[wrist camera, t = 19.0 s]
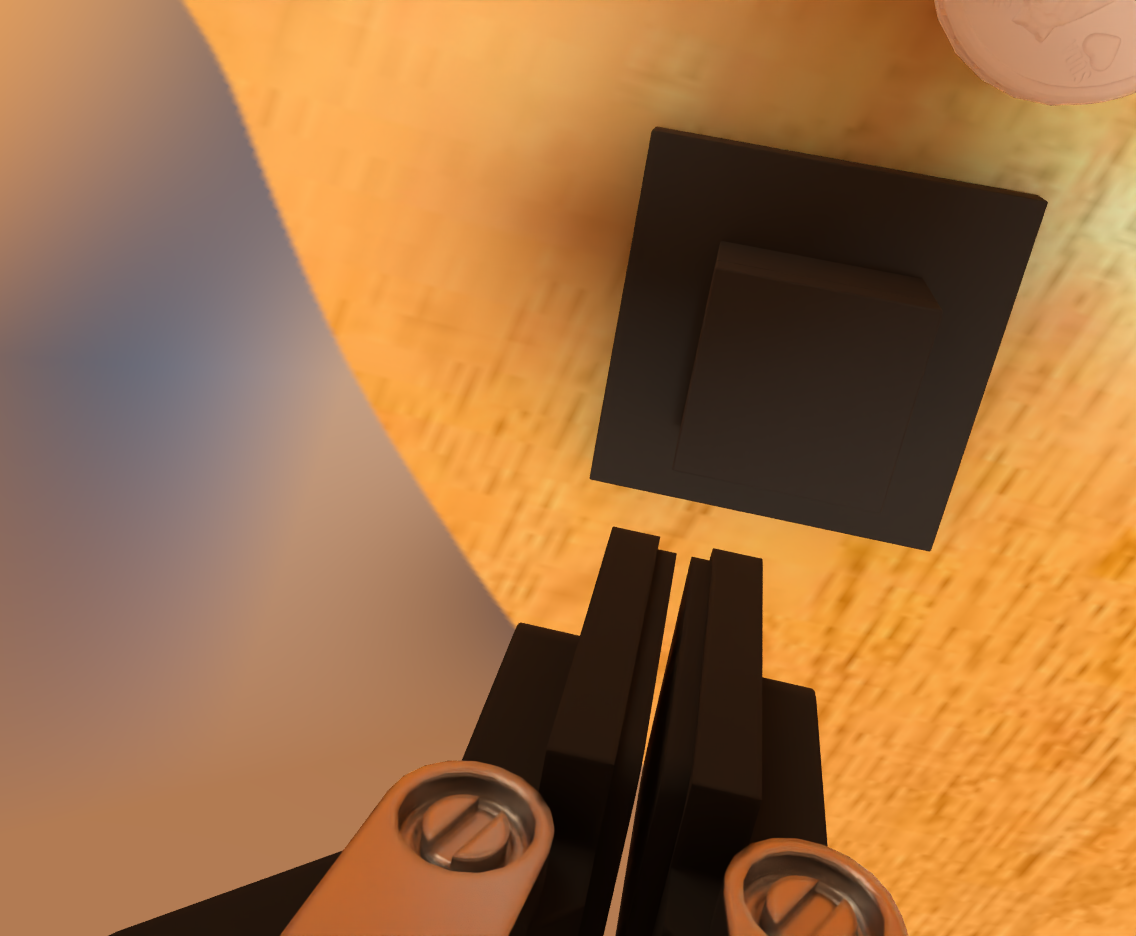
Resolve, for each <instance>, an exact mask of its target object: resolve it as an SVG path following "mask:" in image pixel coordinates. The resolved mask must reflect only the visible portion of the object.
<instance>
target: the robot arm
mask: <svg viewBox="0 0 1136 936" xmlns="http://www.w3.org/2000/svg"><path fill="white" fill-rule="evenodd" d="M659 540H660V537H659V536H654V535H650V534H645V533H640V532H636V531H631V530H627V529H622V528H617V527H613V528H612V531H611V534H610V537H609V541H608V544H607V547H606V551H605V554H604V558H603V561H602V564H601V568H600V571H599V574H598V578H597V581H596V584H595V588H594V591H593V594H592V598H591V601H590V604H589V608H588V611H587V614H586V618H585V621H584V624H583V628H582V631H581V635H580V636H578V635H574V634H569V633H565V632H560V631H556V630H552V629H547V628H543V627H538V626H534V625H529V624H525V623H519V624H518V625H517V627H516V629H515V632H514V634H513V636H512V639H511V641H510V644H509V646H508V649H507V651H506V654H505V656H504V658H503V662H502V663H501V666H500V668H499V671H498V673H497V676H496V678H495V681H494V683H493V685H492V688H491V690H490V693H489V695H488V698H487V700H486V703H485V705H484V707H483V710H482V713H481V715H480V717H479V720H478V722H477V725H476V727H475V729H474V732H473V735H472V737H471V739H470V742H469V744H468V747H467V749H466V751H465V754H464V757H463V759H462V761H445V762H440V763H435V764H430V765H425V766H423V767H421V768H419V769H417V770H415V771H413V772H411V773H408V774H407V775H404V776H403V777H402V778H401V779H400V780H399V781H398V782H397V783H395V785H393V786H392V787H391V788H390V789H389V790H388V791H387V793H386V794H385V795H384V797H383V798H382V799H381V801H380V802H379V803H378V805H377V806H376V807H375V809H374V810H373V811H372V813H371V814H370V815H369V817H368V818H367V819H366V821H365V822H364V823H363V825H362V826H361V827H360V829H359V830H358V831H357V833H356V834H355V835H354V837H353V838H352V839H351V841H350V842H349V844H348V845H347V846H346V847H345V849H344V850H343V851H340V852H338V853H335V854H332V855H329V856H326V857H324V858H321V859H318V860H315V861H313V862H310V863H307V864H304V865H301V866H299V867H296V868H294V869H291V870H288V871H285V872H282V873H279V874H277V875H273V876H271V877H268V878H265V879H262V880H260V881H257V882H254V883H251V884H248V885H246V886H243V887H240V888H237V889H235V890H232V891H229V892H226V893H223V894H220V895H218V896H215V897H212V898H210V899H207V900H204V901H201V902H198V903H196V904H193V905H190V906H187V907H184V908H182V909H179V910H176V911H173V912H170V913H167V914H165V915H162V916H159V917H156V918H154V919H151V920H148V921H145V922H143V923H140V924H137V925H134V926H131V927H128V928H126V929H123V930H120V931H118V932H115V933H113V934H111V935H109V936H603V935H604V931H605V926H606V922H607V917H608V913H609V908H610V905H611V900H612V896H613V892H614V887H615V882H616V878H617V874H618V870H619V865H620V861H621V857H622V852H623V848H624V844H625V839H626V835H627V831H628V826H629V822H630V818H631V813H632V809H633V805H634V800H635V796H636V790H637V785H638V781H639V776H640V771H641V766H642V761H643V755H644V750H645V744H646V738H647V731H648V725H649V719H650V713H651V707H652V701H653V695H654V689H655V683H656V676H657V670H658V664H659V658H660V652H661V646H662V640H663V634H664V628H665V622H666V615H667V609H668V603H669V597H670V591H671V585H672V579H673V573H674V567H675V560H676V554H677V553H672V552H668V551H663V550H659V549H658V545H659ZM762 598H763V562H762V559H760V558H756V557H751V556H747V555H742V554H737V553H733V552H728V551H724V550H719V549H714V548H713V550H712V553H711V557H710V561H709V560H705V559H700V558H695V557H692V558H691V561H690V565H689V569H688V574H687V578H686V582H685V587H684V591H683V595H682V600H681V604H680V608H679V613H678V617H677V621H676V626H675V630H674V634H673V639H672V643H671V647H670V652H669V656H668V660H667V665H666V669H665V673H664V678H663V682H662V686H661V691H660V695H659V699H658V704H657V708H656V712H655V717H654V721H653V725H652V730H651V734H650V738H649V743H648V747H647V752H646V756H645V761H644V766H643V771H642V777H641V782H640V788H639V794H638V801H637V806H636V813H635V819H634V825H633V832H632V838H631V843H630V850H629V856H628V862H627V868H626V875H625V880H624V887H623V893H622V899H621V906H620V912H619V917H618V924H617V930H616V936H908V933H907V930H906V927H905V924H904V921H903V918H902V915H901V914H900V912H899V910H898V908H897V906H896V904H895V902H894V900H893V898H892V896H891V894H890V893H889V892H888V891H887V890H886V889H885V887H884V886H883V885H882V884H881V883H880V882H879V881H878V880H877V878H876V877H875V876H874V875H873V874H872V873H871V872H869V871H868V870H866V869H865V868H864V867H862V866H861V865H860V864H858V863H857V862H856V861H854V860H853V859H851V858H850V857H848V856H846V855H844V854H842V853H840V852H838V851H836V850H833V849H831V848H829V847H828V846H827V833H826V820H825V807H824V794H823V781H822V768H821V755H820V742H819V729H818V716H817V703H816V696H815V691H814V690H813V689H811V688H807V687H803V686H798V685H794V684H789V683H785V682H781V681H776V680H772V679H767V678H763V677H762Z"/></svg>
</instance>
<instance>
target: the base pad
mask: <svg viewBox="0 0 1136 936" xmlns="http://www.w3.org/2000/svg"><path fill="white" fill-rule="evenodd" d="M1047 204H1048V201H1046V200H1044V199H1043V198H1041V197H1040V196H1038V195H1034V194H1028V193H1022V192H1017V191H1011V190H1006V189H1000V188H995V187H989V186H984V185H978V184H972V183H967V182H961V181H956V180H950V179H945V178H939V177H934V176H928V175H922V174H917V173H911V172H906V171H900V170H895V169H889V168H884V167H878V166H872V165H867V164H861V163H856V162H850V161H845V160H839V159H833V158H828V157H822V156H817V155H811V154H806V153H800V152H795V151H789V150H783V149H778V148H772V147H767V146H761V145H756V144H750V143H745V142H739V141H733V140H728V139H722V138H717V137H711V136H706V135H700V134H695V133H689V132H683V131H678V130H672V129H667V128H661V127H655V128H654V129H653V130H652V132H651V138H650V143H649V149H648V154H647V160H646V166H645V171H644V177H643V182H642V188H641V194H640V199H639V205H638V210H637V216H636V222H635V227H634V233H633V238H632V244H631V250H630V255H629V261H628V266H627V272H626V278H625V283H624V289H623V294H622V300H621V305H620V311H619V317H618V322H617V328H616V333H615V339H614V345H613V350H612V356H611V361H610V367H609V373H608V378H607V384H606V389H605V395H604V401H603V406H602V412H601V417H600V423H599V429H598V434H597V440H596V445H595V451H594V456H593V462H592V468H591V473H590V479H591V480H596V481H601V482H605V483H610V484H615V485H619V486H624V487H629V488H633V489H638V490H643V491H648V492H652V493H657V494H662V495H666V496H671V497H676V498H680V499H685V500H690V501H695V502H699V503H704V504H709V505H713V506H718V507H723V508H727V509H732V510H737V511H742V512H746V513H751V514H756V515H760V516H765V517H770V518H775V519H779V520H784V521H789V522H793V523H798V524H803V525H807V526H812V527H817V528H822V529H826V530H831V531H836V532H840V533H845V534H850V535H854V536H859V537H864V538H869V539H873V540H878V541H883V542H887V543H892V544H897V545H901V546H906V547H911V548H916V549H920V550H925V551H931V549H932V546H933V543H934V540H935V537H936V534H937V531H938V528H939V525H940V522H941V519H942V516H943V513H944V510H945V507H946V504H947V501H948V498H949V495H950V492H951V489H952V486H953V483H954V480H955V477H956V474H957V471H958V468H959V465H960V462H961V459H962V456H963V454H964V451H965V448H966V445H967V442H968V439H969V436H970V433H971V430H972V427H973V424H974V421H975V418H976V415H977V412H978V409H979V406H980V403H981V400H982V397H983V394H984V391H985V388H986V385H987V382H988V379H989V376H990V373H991V370H992V367H993V364H994V361H995V358H996V355H997V352H998V349H999V346H1000V343H1001V340H1002V338H1003V335H1004V332H1005V329H1006V326H1007V323H1008V320H1009V317H1010V314H1011V311H1012V308H1013V305H1014V302H1015V299H1016V296H1017V293H1018V290H1019V287H1020V284H1021V281H1022V278H1023V275H1024V272H1025V269H1026V266H1027V263H1028V260H1029V257H1030V254H1031V251H1032V248H1033V245H1034V242H1035V239H1036V236H1037V233H1038V230H1039V227H1040V224H1041V222H1042V219H1043V216H1044V213H1045V210H1046V207H1047ZM721 241H725V242H730V243H736V244H741V245H746V246H752V247H757V248H762V249H767V250H773V251H778V252H783V253H789V254H794V255H799V256H804V257H810V258H815V259H820V260H826V261H831V262H836V263H842V264H847V265H852V266H857V267H863V268H868V269H873V270H879V271H884V272H889V273H894V274H900V275H905V276H910V277H916V278H921V279H923V280H924V281H925V283H926V284H927V286H928V288H929V289H930V291H931V292H932V294H933V296H934V297H935V299H936V301H937V303H938V304H939V306H940V308H941V309H942V311H943V313H942V317H941V320H940V323H939V326H938V330H937V333H936V336H935V339H934V343H933V346H932V349H931V352H930V356H929V359H928V362H927V365H926V369H925V372H924V375H923V378H922V381H921V385H920V388H919V391H918V394H917V398H916V401H915V404H914V407H913V411H912V414H911V417H910V420H909V424H908V427H907V430H906V433H905V437H904V440H903V443H902V446H901V450H900V453H899V456H898V459H897V462H896V466H895V469H894V472H893V475H892V479H891V482H890V485H889V488H888V492H887V495H886V498H885V501H884V505H883V508H882V511H881V513H880V514H877V513H873V512H868V511H863V510H858V509H854V508H849V507H844V506H839V505H835V504H830V503H825V502H820V501H816V500H811V499H806V498H801V497H797V496H792V495H787V494H782V493H778V492H773V491H768V490H763V489H759V488H754V487H749V486H744V485H740V484H735V483H730V482H725V481H721V480H716V479H711V478H706V477H702V476H697V475H692V474H687V473H682V472H678V471H674V470H673V469H672V467H673V462H674V457H675V452H676V447H677V442H678V438H679V433H680V428H681V423H682V418H683V414H684V409H685V404H686V400H687V395H688V390H689V385H690V381H691V376H692V371H693V367H694V362H695V357H696V353H697V348H698V343H699V339H700V334H701V329H702V325H703V320H704V315H705V310H706V306H707V301H708V296H709V292H710V287H711V282H712V278H713V273H714V268H715V264H716V259H717V254H718V250H719V245H720V242H721Z"/></svg>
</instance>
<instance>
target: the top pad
mask: <svg viewBox="0 0 1136 936" xmlns="http://www.w3.org/2000/svg"><path fill="white" fill-rule="evenodd" d="M942 313H943V311H942V309H941V308H940V306H939V304H938V303H937V301H936V299H935V297H934V296H933V294H932V292H931V291H930V289H929V288H928V286H927V284H926V283H925V281H924V280H923V279H921V278H916V277H910V276H905V275H900V274H894V273H889V272H884V271H879V270H873V269H868V268H863V267H857V266H852V265H847V264H842V263H836V262H831V261H826V260H820V259H815V258H810V257H804V256H799V255H794V254H789V253H783V252H778V251H773V250H767V249H762V248H757V247H752V246H746V245H741V244H736V243H730V242H725V241H721V242H720V245H719V250H718V254H717V259H716V264H715V268H714V273H713V278H712V282H711V287H710V292H709V296H708V301H707V306H706V310H705V315H704V320H703V325H702V329H701V334H700V339H699V343H698V348H697V353H696V357H695V362H694V367H693V371H692V376H691V381H690V385H689V390H688V395H687V400H686V404H685V409H684V414H683V418H682V423H681V428H680V433H679V438H678V442H677V447H676V452H675V457H674V462H673V467H672V469H673V470H674V471H678V472H682V473H687V474H692V475H697V476H702V477H706V478H711V479H716V480H721V481H725V482H730V483H735V484H740V485H744V486H749V487H754V488H759V489H763V490H768V491H773V492H778V493H782V494H787V495H792V496H797V497H801V498H806V499H811V500H816V501H820V502H825V503H830V504H835V505H839V506H844V507H849V508H854V509H858V510H863V511H868V512H873V513H877V514H880V513H881V511H882V508H883V505H884V501H885V498H886V495H887V492H888V488H889V485H890V482H891V479H892V475H893V472H894V469H895V466H896V462H897V459H898V456H899V453H900V450H901V446H902V443H903V440H904V437H905V433H906V430H907V427H908V424H909V420H910V417H911V414H912V411H913V407H914V404H915V401H916V398H917V394H918V391H919V388H920V385H921V381H922V378H923V375H924V372H925V369H926V365H927V362H928V359H929V356H930V352H931V349H932V346H933V343H934V339H935V336H936V333H937V330H938V326H939V323H940V320H941V317H942Z"/></svg>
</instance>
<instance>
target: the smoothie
mask: <svg viewBox="0 0 1136 936" xmlns="http://www.w3.org/2000/svg"><path fill="white" fill-rule="evenodd" d="M934 2H935V7H936V12H937V17H938V20H939V22H940V24H941V26H942V28H943V30H944V32H945V34H946V36H947V38H948V40H949V41H950V43H951V45H952V47H953V49H954V51H955V53H956V54H957V55H958V56H959V57H960V58H961V59H962V60H963V61H964V62H965V63H966V64H967V65H968V66H969V67H970V68H971V70H972V71H973V72H974V73H975V74H976V75H977V76H978V77H979V78H980V79H981V80H983V81H985V82H987V83H989V84H990V85H992V86H994V87H996V88H998V89H999V90H1001V91H1003V92H1005V93H1007V94H1009V95H1010V96H1012V97H1014V98H1019V99H1024V100H1028V101H1033V102H1037V103H1042V104H1047V105H1077V104H1092V103H1099V102H1105V101H1109V100H1114V99H1118V98H1121V97H1124V96H1127V95H1130V94H1133V93H1136V0H934Z"/></svg>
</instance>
